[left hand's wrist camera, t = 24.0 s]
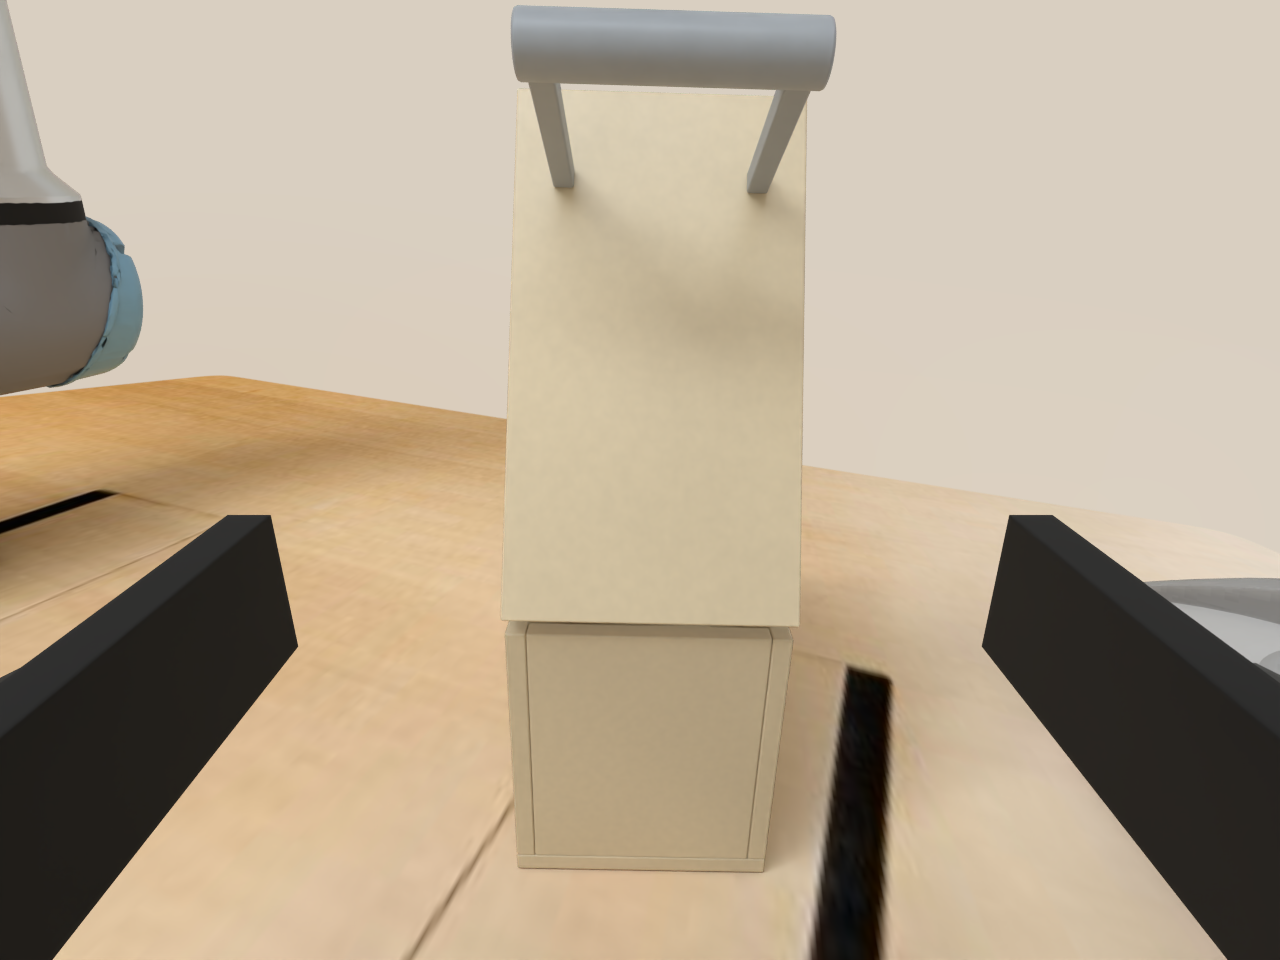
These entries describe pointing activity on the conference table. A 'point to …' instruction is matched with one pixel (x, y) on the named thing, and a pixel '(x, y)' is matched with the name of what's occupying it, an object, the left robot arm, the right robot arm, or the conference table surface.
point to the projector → (1233, 612)
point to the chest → (645, 743)
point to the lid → (658, 317)
